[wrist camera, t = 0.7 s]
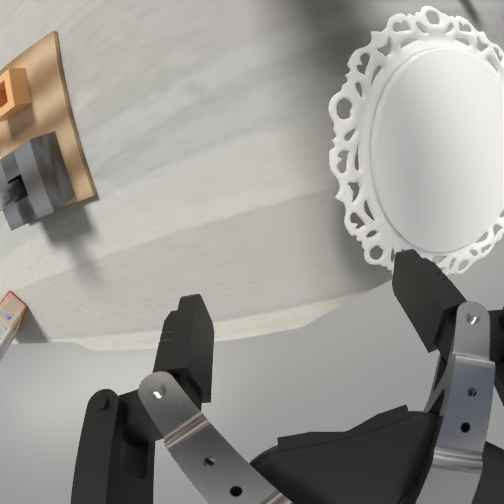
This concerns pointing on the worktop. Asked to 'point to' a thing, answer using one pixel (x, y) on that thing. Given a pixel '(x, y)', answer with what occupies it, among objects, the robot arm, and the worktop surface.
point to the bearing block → (43, 141)
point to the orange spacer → (13, 92)
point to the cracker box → (10, 320)
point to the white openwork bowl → (424, 143)
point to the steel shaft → (11, 193)
